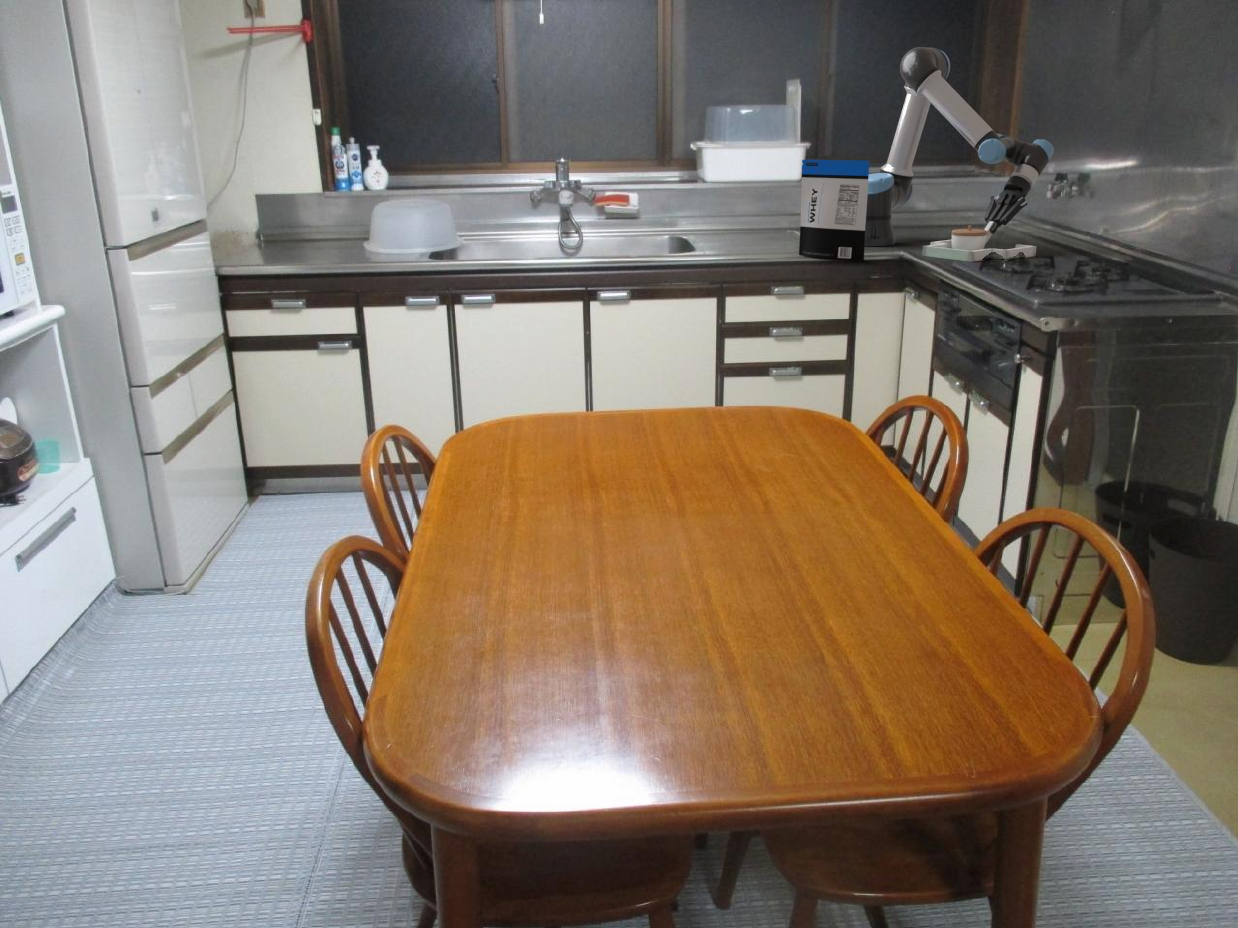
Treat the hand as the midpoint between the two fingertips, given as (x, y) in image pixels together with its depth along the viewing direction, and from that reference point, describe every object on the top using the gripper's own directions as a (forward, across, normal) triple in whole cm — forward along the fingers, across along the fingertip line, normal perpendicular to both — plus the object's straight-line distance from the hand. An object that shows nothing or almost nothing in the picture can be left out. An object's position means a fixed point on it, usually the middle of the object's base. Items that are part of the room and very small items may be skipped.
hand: (982, 240), depth 326 cm
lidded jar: (+8, 0, +1) cm, 8 cm away
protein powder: (+32, +27, +25) cm, 49 cm away
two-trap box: (+6, 0, 0) cm, 6 cm away
